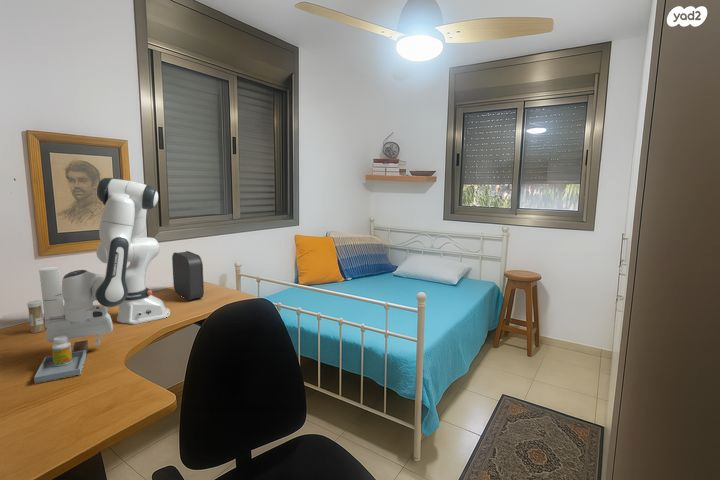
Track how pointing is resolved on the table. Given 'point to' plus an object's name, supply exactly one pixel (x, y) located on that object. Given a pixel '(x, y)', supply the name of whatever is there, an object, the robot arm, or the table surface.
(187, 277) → the speaker
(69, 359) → the supplement bottle
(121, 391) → the table surface
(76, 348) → the walnut block
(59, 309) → the cylindrical container
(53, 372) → the tray
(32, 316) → the sprinkles bottle
